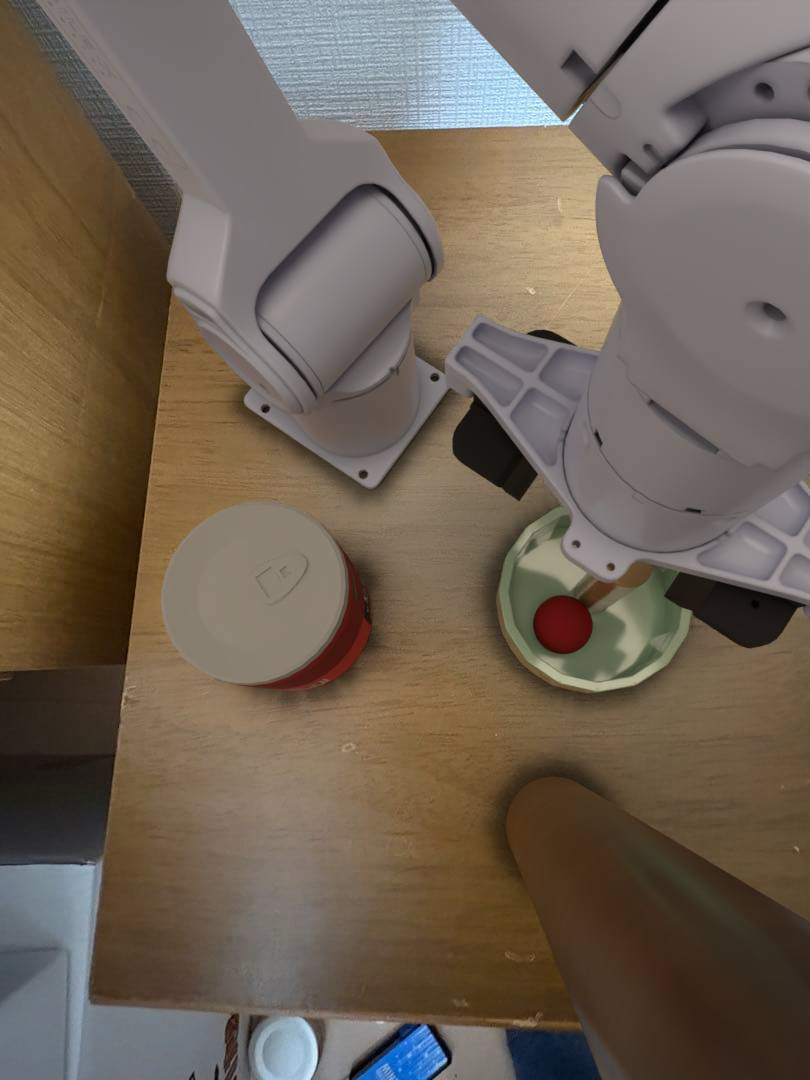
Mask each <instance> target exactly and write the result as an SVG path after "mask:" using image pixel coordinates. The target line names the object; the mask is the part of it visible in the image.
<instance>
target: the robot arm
mask: <svg viewBox="0 0 810 1080" xmlns="http://www.w3.org/2000/svg"><path fill="white" fill-rule="evenodd" d="M35 1H36V3H37V4H38V5H39V7H40V8H41V9H42V10H43V12H44V13H45V14H46V15H47V17H48V18H49V19H50V21H51V22H52V24H53V25H54V26H55V27H56V29H57V30H58V31H59V33H60V34H61V35H62V37H64V39H65V40H66V42H67V43H68V45H70V47H71V48H72V49H73V51H74V52H75V54H76V55H77V56H78V57H79V58H80V60H81V62H83V64H84V65H85V66H86V68H87V69H88V70H89V71H90V73H91V74H92V75H93V77H94V78H95V79H96V81H98V83H99V85H100V86H101V87H102V89H103V90H104V91H105V93H106V94H107V95H108V97H109V98H110V99H111V101H112V102H113V103H114V104H115V105H116V107H117V108H118V109H119V111H120V112H121V113H122V115H123V116H124V117H125V118H126V120H127V121H128V122H129V124H130V125H131V127H132V128H133V129H134V130H135V131H136V133H137V134H138V135H139V137H140V138H141V139H142V140H143V142H144V143H145V145H146V146H147V147H148V149H149V150H150V151H151V152H152V154H153V155H154V156H155V157H156V159H157V160H158V161H159V163H160V164H161V165H162V166H163V168H164V169H165V171H166V172H167V173H168V174H169V176H170V177H171V178H172V179H173V181H174V182H175V183H176V185H177V186H178V188H179V189H180V190H181V192H182V196H181V197H182V198H181V204H180V209H179V214H178V218H177V222H176V227H175V231H174V235H173V239H172V244H171V248H170V253H169V257H168V260H167V261H168V262H167V269H166V281H167V282H168V283H169V284H170V286H172V288H173V296H174V298H175V299H177V301H178V302H179V303H180V304H181V306H182V307H183V308H184V309H185V311H186V312H187V313H188V314H189V316H190V317H191V318H192V319H193V321H194V322H195V324H196V325H197V328H198V331H199V333H200V334H201V336H202V338H203V339H204V340H205V341H206V343H207V345H209V347H210V348H211V349H212V350H213V351H214V352H215V353H216V354H217V356H218V357H219V358H220V359H221V360H222V361H223V362H224V363H225V364H226V366H228V367H229V368H230V369H231V370H232V372H234V373H235V375H237V377H239V378H240V379H241V380H242V381H243V382H245V383H246V384H247V386H249V387H250V389H248V391H247V392H246V394H245V395H244V398H243V404H244V406H245V407H246V408H247V409H248V410H250V411H251V412H253V413H254V414H256V415H257V416H259V417H260V418H262V419H263V420H265V421H266V422H268V423H269V424H271V425H272V426H274V427H275V428H276V429H278V430H279V431H281V432H282V433H284V434H285V435H287V436H288V437H290V438H291V439H292V440H294V441H295V442H297V443H299V444H300V445H302V446H303V447H305V448H306V449H308V450H309V451H311V453H313V454H315V455H316V456H318V457H319V458H321V459H323V460H324V461H325V462H326V463H329V464H330V465H331V466H333V467H334V468H335V469H337V470H338V471H340V472H341V473H343V474H344V475H346V476H347V477H349V478H350V479H352V480H353V481H355V482H356V483H358V484H359V485H361V486H362V487H364V488H365V489H368V490H374V489H377V488H378V487H379V485H380V484H381V483H382V481H383V480H384V478H385V477H386V476H387V474H388V473H389V472H390V470H392V468H393V466H394V465H395V464H396V462H397V461H398V460H399V458H400V457H401V455H402V454H403V453H404V452H405V450H406V449H407V447H408V446H409V445H410V444H411V442H412V441H413V439H414V438H415V437H416V435H417V434H418V433H419V431H420V430H421V428H422V427H423V426H424V424H425V422H427V420H429V418H430V416H431V415H432V413H433V412H434V410H435V409H436V408H437V406H438V405H439V404H440V402H441V401H442V400H443V399H444V397H445V396H446V394H447V393H448V391H449V390H450V389H451V390H452V391H454V392H455V393H457V394H459V395H461V396H462V397H463V398H466V399H471V398H473V399H472V402H470V405H469V408H468V410H467V411H466V413H465V414H464V416H462V418H461V420H460V421H459V423H457V425H456V426H455V429H454V431H453V434H452V438H451V445H452V446H451V449H452V454H453V456H454V457H455V458H456V460H457V461H458V462H460V463H461V464H462V465H463V466H465V467H466V468H468V469H470V470H472V471H473V472H474V473H475V474H477V475H478V476H480V477H482V478H483V479H485V480H487V481H488V482H489V483H490V484H491V485H494V486H496V487H497V488H500V489H502V490H503V491H504V493H506V494H507V495H509V496H511V498H514V499H515V500H517V502H521V501H522V498H523V497H524V496H525V494H526V493H527V492H528V490H529V489H530V487H531V486H532V485H533V484H534V482H535V480H536V479H537V478H538V476H539V478H540V479H541V480H542V481H543V483H544V484H545V485H546V486H547V488H548V489H549V491H550V492H551V493H552V494H553V496H554V497H555V498H556V500H557V501H558V502H559V504H560V505H561V506H563V507H564V509H565V510H566V511H567V513H568V515H569V516H570V522H571V524H570V527H569V529H568V530H567V532H566V533H565V535H564V536H563V539H562V542H561V544H560V546H561V551H562V554H563V555H564V556H565V557H566V558H567V560H569V561H570V562H572V563H573V564H575V565H576V566H578V567H579V568H581V569H582V570H584V571H585V572H587V573H588V574H590V575H591V576H593V577H594V578H596V579H597V580H599V581H602V582H605V583H611V582H616V581H617V580H618V579H619V578H620V577H622V576H623V575H624V574H625V573H626V572H627V570H628V569H629V567H630V566H631V565H632V564H633V563H636V562H644V563H648V564H652V565H656V566H660V567H664V568H668V569H672V570H676V571H680V572H679V573H678V575H677V576H676V578H675V580H674V581H673V583H672V584H671V586H670V587H669V589H668V590H667V592H666V593H665V595H664V597H665V598H667V599H668V600H670V601H671V602H673V603H675V604H676V605H678V606H679V607H681V608H684V609H688V610H691V611H692V616H693V617H694V618H696V619H697V620H699V621H700V622H702V623H703V624H705V625H706V626H708V627H710V628H711V629H713V630H714V631H715V632H718V633H719V634H720V635H722V636H723V637H725V638H726V639H728V640H729V641H731V642H733V643H734V644H736V645H738V646H739V647H742V648H744V649H753V648H754V649H755V648H761V647H764V646H767V645H770V644H772V643H773V642H775V641H776V640H777V639H778V638H779V637H780V636H781V635H782V634H783V632H784V631H785V629H786V627H787V626H788V624H789V623H790V621H791V619H792V618H793V617H794V615H795V613H796V612H797V610H798V609H800V608H802V611H803V614H804V615H805V616H806V617H807V618H808V619H810V486H809V485H808V484H807V482H806V481H804V480H805V479H807V478H808V477H810V0H449V2H450V3H451V4H452V5H453V6H454V7H455V9H457V10H458V11H459V12H460V14H462V16H463V17H464V18H465V20H467V21H468V22H469V23H470V24H471V25H472V26H473V28H474V29H476V31H477V32H478V33H479V34H480V35H481V36H482V37H483V38H484V39H485V40H486V41H487V42H488V44H489V45H490V46H491V47H492V48H493V49H494V50H495V51H496V52H497V53H498V54H499V55H500V57H501V58H502V59H503V60H504V61H505V62H506V63H507V64H508V66H510V68H511V69H513V71H514V72H515V73H516V74H517V75H518V76H519V77H520V78H521V79H522V80H523V81H524V82H525V83H526V84H527V85H528V87H529V88H530V89H531V90H532V91H533V92H534V94H536V96H538V98H539V99H540V100H542V102H543V103H544V104H545V105H546V106H547V107H548V109H550V110H551V112H552V113H554V115H555V116H556V117H557V119H559V120H560V122H561V123H564V122H566V121H567V120H568V119H569V118H571V117H572V116H573V115H574V114H575V115H574V116H573V117H572V119H571V121H570V122H569V123H568V125H567V126H568V129H569V131H571V133H572V134H573V135H574V136H575V137H576V138H577V139H578V140H579V142H580V143H581V144H583V146H584V147H585V148H586V149H587V150H588V152H590V153H591V155H592V156H594V157H595V159H596V160H597V161H598V162H599V163H600V164H601V165H602V166H603V167H604V168H605V169H606V171H608V173H609V174H603V175H601V176H600V177H599V178H598V181H597V185H596V191H595V203H594V205H595V206H594V207H595V208H594V210H595V211H594V212H595V214H594V217H595V229H596V233H597V234H596V235H597V240H598V244H599V249H600V252H601V255H602V259H603V262H604V265H605V268H606V270H607V272H608V275H609V277H610V280H611V282H612V284H613V286H614V288H615V290H616V292H617V293H618V296H619V298H620V301H619V304H618V307H617V309H616V312H615V314H614V317H613V318H612V321H611V324H610V326H609V328H608V331H607V334H606V337H605V338H604V342H603V344H602V346H601V349H600V350H597V349H591V348H588V347H582V346H578V345H577V344H575V343H573V342H572V341H570V340H569V339H567V338H565V337H563V336H562V335H560V334H559V333H556V332H554V331H552V330H548V329H533V330H531V331H528V332H526V333H523V332H519V331H516V330H513V329H511V328H508V327H506V326H504V325H502V324H500V323H498V322H496V321H494V320H492V319H490V318H488V317H487V316H485V315H483V314H481V313H479V314H478V315H476V317H475V318H474V320H473V321H472V322H471V324H470V325H469V326H468V328H467V329H466V330H465V332H464V333H463V334H462V335H461V337H460V339H458V341H457V342H456V344H455V345H454V346H453V348H452V349H451V350H450V352H449V353H448V355H447V356H446V357H445V358H444V372H442V371H441V370H439V369H437V367H434V366H433V365H431V364H430V363H428V362H426V360H423V359H422V358H420V357H419V356H417V355H416V351H415V349H416V348H415V341H414V335H413V334H414V332H413V323H412V318H413V314H414V311H415V309H416V307H417V305H418V304H419V303H420V302H421V289H422V288H423V287H424V285H426V283H430V282H432V281H433V280H434V279H435V278H436V277H437V276H438V275H440V273H442V272H443V271H442V270H443V269H444V266H445V263H446V260H445V259H446V258H445V257H446V256H445V255H446V254H445V249H444V245H443V237H442V234H441V230H440V228H439V226H438V224H437V221H436V219H435V218H434V215H433V214H432V212H431V211H430V209H429V208H428V206H427V204H426V203H425V202H424V200H423V199H422V197H420V195H419V194H418V193H417V191H416V190H415V189H414V188H413V187H412V186H411V185H410V184H409V183H407V181H406V180H405V179H404V178H403V176H402V175H401V174H400V173H399V171H398V170H397V168H396V166H395V165H394V164H393V162H392V160H391V159H390V157H389V156H388V154H387V152H386V151H385V148H384V147H383V146H382V144H381V143H380V141H379V140H378V139H377V137H375V136H373V135H372V134H371V133H368V132H367V131H365V130H364V129H361V128H359V127H357V126H355V125H353V124H351V123H348V122H346V121H342V120H338V119H331V118H319V117H308V118H307V117H305V118H297V116H296V114H295V111H293V109H292V107H291V106H290V104H289V102H288V100H287V99H286V97H285V96H284V94H283V91H282V90H281V88H280V87H279V85H278V83H277V82H276V80H275V78H274V77H273V75H272V73H271V71H270V70H269V68H268V66H267V64H266V63H265V61H264V59H263V57H262V56H261V54H260V52H259V51H258V49H257V47H256V46H255V44H254V41H253V40H252V39H251V37H250V35H249V34H248V32H247V29H246V28H245V26H244V25H243V24H242V21H241V19H240V18H239V17H238V14H237V13H236V11H235V9H234V8H233V5H231V3H230V1H229V0H35ZM578 109H579V110H578ZM433 377H437V378H438V380H436V381H434V380H432V378H433ZM265 408H269V411H267V412H263V411H264V409H265ZM362 473H366V474H367V476H366V477H364V478H361V476H360V475H361V474H362ZM573 545H576V546H577V548H574V547H573ZM607 567H609V568H610V569H611V571H609V570H608V569H607Z"/></svg>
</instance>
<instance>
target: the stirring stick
mask: <svg viewBox="0 0 810 1080" xmlns="http://www.w3.org/2000/svg"><path fill="white" fill-rule="evenodd" d="M607 569H608V570H609V571H611V569H610V568H609V567H607ZM652 569H653V565H652V564H648V563H644V562H636V563H633V564H632V565H631V566H630V567H629V569H628V570H627V572H626V573H625V574H624V575H623V576H622V577H620V578H619V579H618V580H617V581H616V582H611V583H605V582H602V581H599V580H597V579H596V578H594V577H593V576H591V575H590V574H588V573H587V574H586V575H585V576H584V577H583V578H582V579H581V580H580V581H579V582H578V584H577V585H576V587H575V591H574V596H575V598H576V599H578V600H579V601H581V602H582V603H583V604H584V605H585V606H586V607H587V609H588V610H589V612H590V613H599V612H602V611H604V610H605V609H607V608H608V607H610V606H611V605H613V604H614V603H616V602H617V601H619V600H620V599H622V598H623V597H625V596H626V595H627V594H629V593H630V592H632V591H633V590H635V589H636V588H638V587H639V586H641V585H642V584H644V583H645V582H646V581H647V580H648V579H649V577H650V575H651V573H652Z"/></svg>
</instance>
